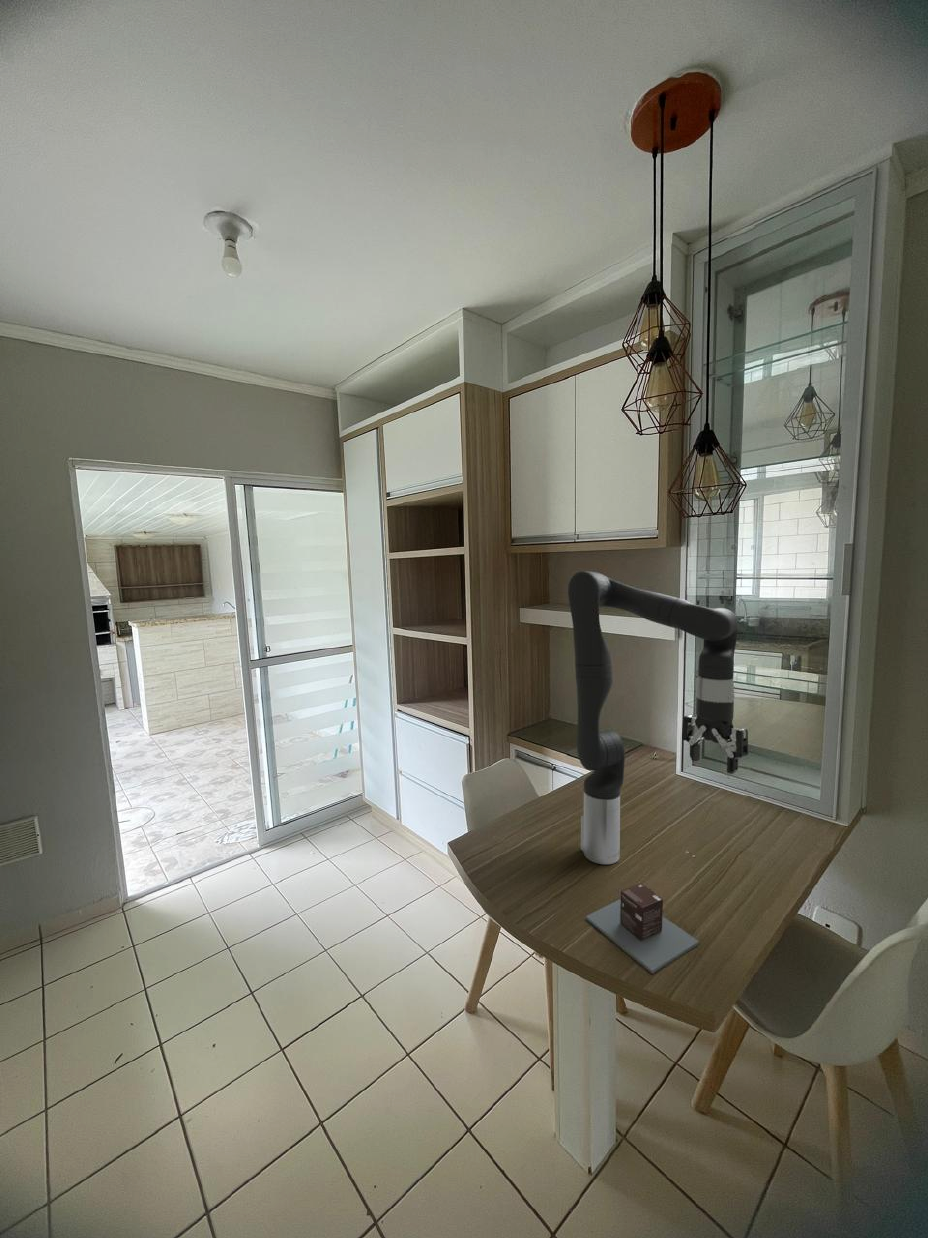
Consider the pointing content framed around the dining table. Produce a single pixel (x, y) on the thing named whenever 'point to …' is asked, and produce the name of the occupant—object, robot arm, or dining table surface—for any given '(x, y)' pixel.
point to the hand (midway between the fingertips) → (712, 766)
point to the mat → (648, 951)
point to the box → (641, 911)
